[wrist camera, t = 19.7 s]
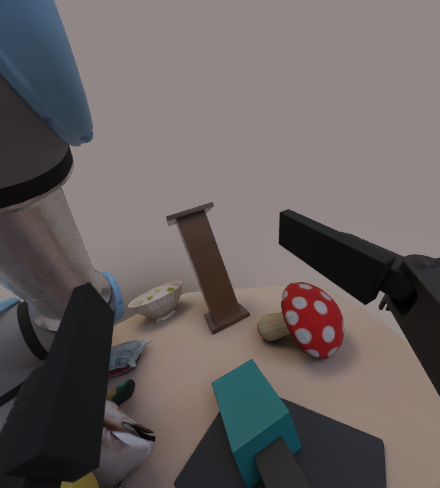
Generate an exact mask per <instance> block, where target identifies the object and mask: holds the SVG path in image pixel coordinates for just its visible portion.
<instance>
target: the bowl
mask: <svg viewBox="0 0 440 488" xmlns="http://www.w3.org/2000/svg"><path fill="white" fill-rule="evenodd" d="M181 290H182V281H174V282H171V283H168V284H164V285H162V286H159V287H157V288H154V289H152V290H150V291H148V292H146V293H144V294H142V295H140V296H139V297H137V298H136V299H135V300H133V301H131V302H130V304H129V305H128V307H129V308H130V309H132V310H133V311H134V312H136V313H138V314H141V315H143V316H146V317H149V318H156V321H163V320H165V319H167V318H169V317H170V316H172V315H173V314H174V313H175V310H173V309H174V308H175V306H176V305H177V303H178V301H179V298H180V295H181Z"/></svg>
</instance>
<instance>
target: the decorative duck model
mask: <svg viewBox="0 0 440 488" xmlns="http://www.w3.org/2000/svg"><path fill="white" fill-rule="evenodd" d="M134 388H135V382H134V381H133V380H132V379H129V380H127V381H125V382H123V383H122V384H120V385H119V386H118V387H117V388H116V389H115V390H114V391H112V392H110V393H107V395H106V405H105V415H104V425H103V435H102V445H101V455H100V465H99V468H97V469H95V470H94V471H92V473H93V475H94V476H95V478H96V480H97V482H98V484H99V487H100V488H112V487H113V486H115V485H116V484H118V483H119V482H121V481H122V480H123V479H125V478H126V477H127V476H128V475H129V474H130V473H131V472H133V471H134V470H135V469H136V468H137V467H138V466H139V465H140V464H141V463H142V462H143V461H144V460H145V459H146V457H147V456H148V455H149V454H150V452H151V451H152V450H153V448H154V446H155V443H154V442H155V436H150V435H147V434H145V433H154V432H153V431H151V430H149V429H147V428H145V427H143V426H142V425H140V424H139V423H137V422H136V421H134V420H133V419H132V418H130V417H128V416H127V415H126V414H125V412H124V411H123V410H122V409H121V408H120V407H119V406H120V405H121V404H122V403H123V402H125V401H126V400H127V399H129V398H130V397H131V396H132V394H133V392H134ZM108 400H109V401H108ZM139 430H140V431H139ZM141 431H142V432H141ZM143 432H145V433H143Z"/></svg>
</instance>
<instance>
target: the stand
mask: <svg viewBox="0 0 440 488" xmlns="http://www.w3.org/2000/svg"><path fill="white" fill-rule="evenodd" d="M213 206H214V205H213V202H211V203H208V204H205V205H201V206H198V207H195V208H192V209H189V210H186V211H182V212H179V213H176V214H173V215H170V216H167V217H166V218H167V223H168V226H171V225H174V224H177V227H178V230H179V233H180V235H181V238H182V241H183V243H184V246H185V249H186V251H187V254H188V256H189V259H190V262H191V265H192V267H193V270H194V273H195V275H196V278H197V280H198V283H199V286H200V288H201V291H202V294H203V297H204V299H205V302H206V305H207V307H208V310H209V313H207V314H205V318H206V320H207V322H208V324H209V327H210V329H211V331H212V333H213V334H215V333H217V332H219V331H221V330H223V329H225V328H227V327H228V326H230V325H232V324H234V323H236V322H238V321H240V320H242V319H244V318H246V317H248V316H250V314H249V312H248V311H247V310H246V309H245V308H244V307H243V306H241V305H240V304H239V303H238V302H237V299H236V296H235V294H234V291H233V288H232V285H231V282H230V280H229V277H228V274H227V271H226V269H225V266H224V263H223V260H222V257H221V255H220V252H219V249H218V246H217V244H216V241H215V238H214V235H213V232H212V230H211V227H210V224H209V221H208V218H207V216H206V213H207V212H208V211H209V210H210V209H211V208H212V207H213Z"/></svg>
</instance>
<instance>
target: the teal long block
mask: <svg viewBox="0 0 440 488" xmlns="http://www.w3.org/2000/svg"><path fill="white" fill-rule="evenodd" d="M212 386H213V389H214V392H215V396H216V399H217V403H218V406H219V409H220V413H221V416H222V419H223V423H224V426H225V430H226V433H227V436H228V440H229V443H230V446H231V450H232V453H233V456H234V458H235V461H236V463H237V466H238V468H239V471H240V473H241V476H242V478H243V481H244V484H245V486H246V488H252V487H253V486H254V485H255V484H257V483H258V482H259V481H260V480H262V481H263V483H264V486H265V488H312V487H311V485H310V484H309V482H308V480H307V478H306V477H305V475H304V473H303V472H302V470H301V468H300V466H299V465H298V463H297V461H296V459H295V458H294V456H293V454H294V453H295V452H296V451H298V450H299V449H300V448H301V447H302V446H301V443H300V440H299V438H298V435H297V432H296V429H295V426H294V423H293V421H292V418H291V415H290V412H289V410H288V409H287V407H286V406H285V405H284V403H283V402H282V400H281V399H280V398H279V396H278V395H277V393H276V392H275V391H274V389H273V388H272V386H271V385H270V384H269V382H268V381H267V379H266V378H265V377H264V375H263V374H262V372H261V371H260V370H259V368H258V367H257V365H256V364H255V363H254V361H253V360H252V359H251V360H249V361H248V362H246V363H244V364H243V365H241V366H239V367H237V368H236V369H234V370H232V371H231V372H229V373H227V374H226V375H224V376H222V377H221V378H219V379H217V380H215V381H214V382H212Z"/></svg>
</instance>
